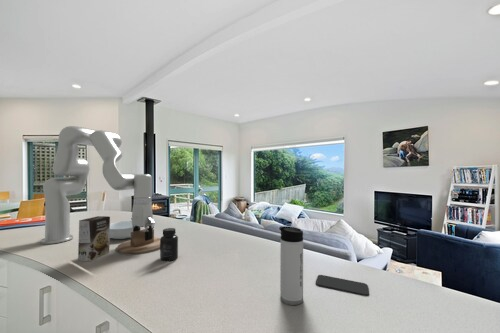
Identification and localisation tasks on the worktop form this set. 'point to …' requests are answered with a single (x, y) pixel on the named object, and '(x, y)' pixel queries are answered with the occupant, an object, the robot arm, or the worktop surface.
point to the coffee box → (93, 238)
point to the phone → (342, 285)
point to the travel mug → (291, 265)
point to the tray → (132, 254)
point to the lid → (139, 243)
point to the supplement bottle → (169, 245)
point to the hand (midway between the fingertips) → (142, 238)
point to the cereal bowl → (121, 230)
